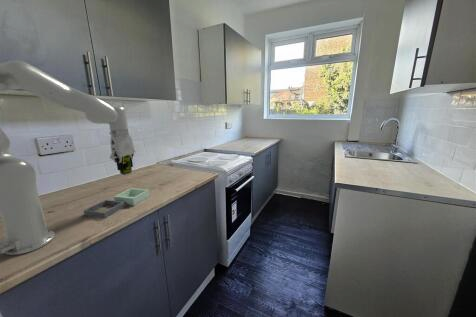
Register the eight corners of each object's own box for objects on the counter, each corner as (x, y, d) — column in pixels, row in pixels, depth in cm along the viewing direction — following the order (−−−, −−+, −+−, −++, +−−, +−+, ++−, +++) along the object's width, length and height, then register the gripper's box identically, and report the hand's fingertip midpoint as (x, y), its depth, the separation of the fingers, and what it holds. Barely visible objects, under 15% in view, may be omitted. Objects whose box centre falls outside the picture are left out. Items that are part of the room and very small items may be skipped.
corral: (105, 218, 87) (104, 213, 86) (84, 215, 90) (83, 210, 89) (125, 206, 98) (124, 201, 97) (106, 204, 101) (105, 199, 100)
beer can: (118, 174, 100) (114, 151, 97) (128, 171, 104) (124, 149, 101) (124, 175, 97) (120, 152, 94) (134, 172, 102) (131, 150, 99)
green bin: (134, 205, 98) (133, 198, 97) (115, 203, 101) (114, 196, 100) (149, 196, 109) (148, 189, 108) (132, 194, 112) (131, 188, 111)
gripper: (111, 135, 87) (118, 174, 91) (138, 131, 103) (143, 164, 107) (97, 135, 88) (105, 173, 93) (126, 131, 104) (131, 163, 109)
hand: (125, 168), depth 100 cm, fingers closed on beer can, 5 cm apart
